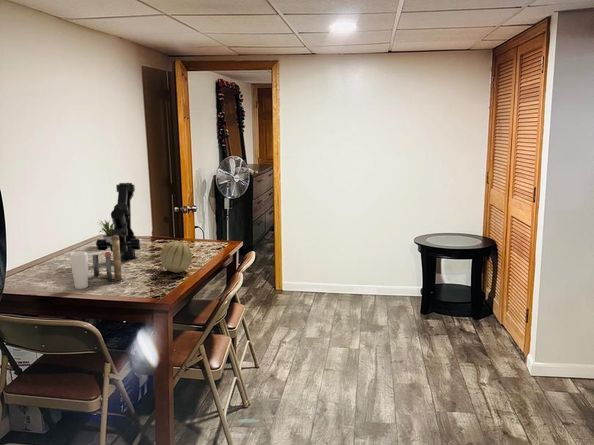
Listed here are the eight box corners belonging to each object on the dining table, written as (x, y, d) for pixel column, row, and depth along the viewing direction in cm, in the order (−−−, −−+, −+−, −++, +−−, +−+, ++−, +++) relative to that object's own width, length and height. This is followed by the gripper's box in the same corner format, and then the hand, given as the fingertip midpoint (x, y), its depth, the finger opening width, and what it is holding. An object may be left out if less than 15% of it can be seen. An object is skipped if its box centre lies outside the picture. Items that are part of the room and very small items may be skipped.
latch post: (110, 280, 233) (108, 250, 230) (116, 281, 230) (114, 251, 228) (102, 282, 229) (100, 252, 227) (108, 284, 227) (106, 253, 224)
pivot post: (97, 274, 241) (96, 253, 239) (104, 276, 238) (102, 255, 237) (89, 276, 237) (87, 255, 235) (95, 278, 235) (94, 257, 233)
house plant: (88, 248, 289) (86, 219, 286) (104, 242, 302) (102, 214, 299) (110, 250, 285) (108, 220, 282) (125, 244, 298) (124, 216, 295)
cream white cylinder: (76, 285, 226) (73, 251, 223) (92, 284, 226) (89, 251, 223) (70, 290, 219) (67, 255, 216) (87, 289, 220) (84, 255, 217)
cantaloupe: (154, 272, 244) (152, 241, 241) (177, 265, 256) (176, 235, 253) (176, 278, 236) (175, 246, 233) (199, 270, 248) (198, 239, 245)
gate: (97, 277, 236) (94, 233, 232) (102, 275, 239) (99, 232, 235) (118, 280, 232) (115, 236, 228) (123, 278, 234) (120, 234, 231)
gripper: (95, 221, 234) (92, 251, 225) (138, 221, 237) (136, 251, 229) (100, 235, 243) (96, 264, 235) (141, 234, 246) (139, 263, 238)
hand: (117, 260), depth 234 cm, fingers closed, pressing on gate
